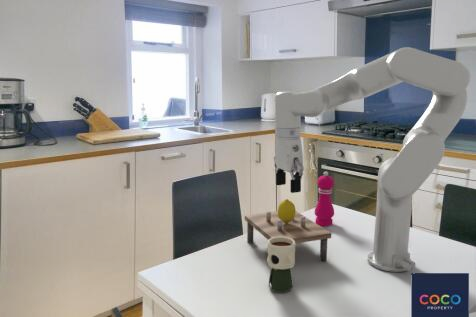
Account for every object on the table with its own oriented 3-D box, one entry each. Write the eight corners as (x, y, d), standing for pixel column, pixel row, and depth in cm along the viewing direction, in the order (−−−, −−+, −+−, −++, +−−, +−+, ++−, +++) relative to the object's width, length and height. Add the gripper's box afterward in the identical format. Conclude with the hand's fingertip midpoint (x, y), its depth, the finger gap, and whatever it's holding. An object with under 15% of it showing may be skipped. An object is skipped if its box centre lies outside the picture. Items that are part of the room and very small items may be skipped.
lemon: (284, 219, 136) (285, 195, 135) (298, 224, 132) (299, 199, 131) (273, 223, 132) (274, 199, 131) (287, 228, 129) (288, 203, 127)
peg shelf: (330, 261, 127) (331, 223, 124) (275, 271, 120) (276, 231, 118) (292, 233, 148) (293, 200, 146) (244, 240, 142) (244, 206, 140)
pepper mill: (319, 218, 164) (322, 168, 160) (337, 223, 159) (339, 171, 155) (310, 224, 158) (312, 171, 154) (328, 228, 154) (330, 174, 150)
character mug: (258, 281, 114) (259, 236, 112) (281, 276, 117) (282, 232, 115) (279, 301, 105) (280, 252, 102) (303, 294, 108) (305, 246, 105)
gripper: (313, 135, 120) (313, 193, 123) (285, 129, 136) (286, 180, 139) (290, 137, 118) (290, 197, 121) (264, 130, 134) (265, 183, 137)
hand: (288, 188), depth 130 cm, fingers open, 9 cm apart
